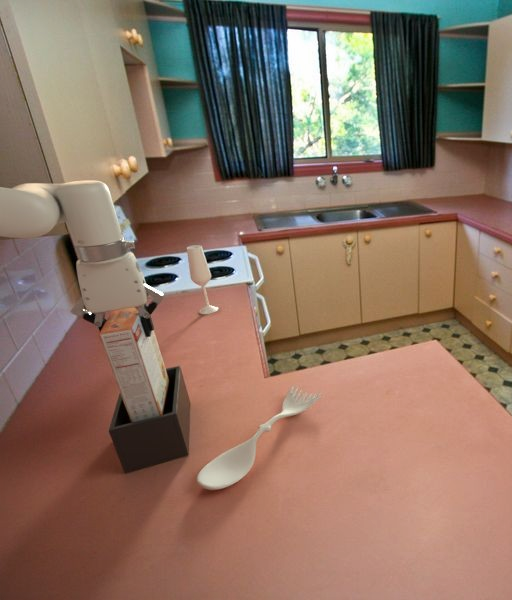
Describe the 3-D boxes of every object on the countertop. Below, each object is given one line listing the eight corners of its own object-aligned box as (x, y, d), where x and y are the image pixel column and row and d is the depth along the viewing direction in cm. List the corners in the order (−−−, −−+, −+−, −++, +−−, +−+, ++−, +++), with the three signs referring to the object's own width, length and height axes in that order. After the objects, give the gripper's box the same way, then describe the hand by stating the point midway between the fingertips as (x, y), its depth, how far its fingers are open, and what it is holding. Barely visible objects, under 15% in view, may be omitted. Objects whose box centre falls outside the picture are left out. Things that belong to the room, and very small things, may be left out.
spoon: (324, 402, 103) (323, 391, 102) (224, 504, 77) (220, 489, 76) (294, 394, 107) (292, 382, 106) (189, 488, 81) (184, 474, 79)
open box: (124, 473, 84) (108, 430, 80) (137, 415, 101) (124, 377, 97) (188, 455, 88) (176, 413, 84) (190, 402, 105) (180, 365, 101)
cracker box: (141, 387, 96) (113, 303, 88) (170, 381, 98) (146, 298, 90) (129, 426, 84) (96, 332, 76) (162, 418, 86) (134, 326, 78)
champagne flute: (194, 311, 155) (179, 248, 146) (211, 305, 160) (197, 243, 151) (206, 315, 152) (190, 251, 142) (222, 308, 157) (208, 245, 147)
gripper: (157, 239, 84) (178, 321, 91) (51, 252, 78) (83, 338, 85) (153, 249, 78) (177, 336, 85) (38, 264, 71) (74, 356, 79)
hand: (130, 336), depth 85 cm, fingers closed on cracker box, 6 cm apart
